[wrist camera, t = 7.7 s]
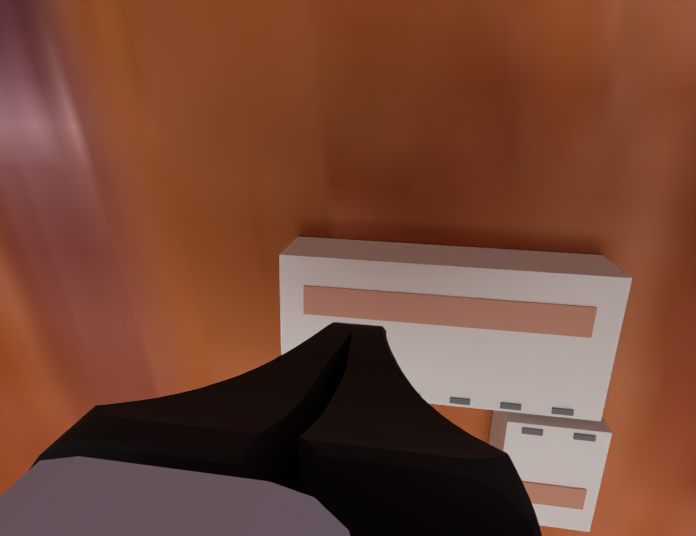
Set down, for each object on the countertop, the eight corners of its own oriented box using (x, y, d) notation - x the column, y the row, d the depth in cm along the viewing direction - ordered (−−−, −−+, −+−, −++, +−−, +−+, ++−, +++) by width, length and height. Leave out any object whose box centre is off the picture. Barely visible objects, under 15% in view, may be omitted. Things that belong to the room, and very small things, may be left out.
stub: (587, 391, 22) (613, 434, 19) (569, 481, 23) (590, 533, 20) (496, 382, 22) (507, 423, 19) (484, 471, 24) (493, 520, 21)
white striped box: (602, 255, 20) (633, 278, 17) (577, 381, 22) (601, 423, 19) (297, 236, 22) (278, 255, 19) (298, 355, 23) (281, 389, 21)
